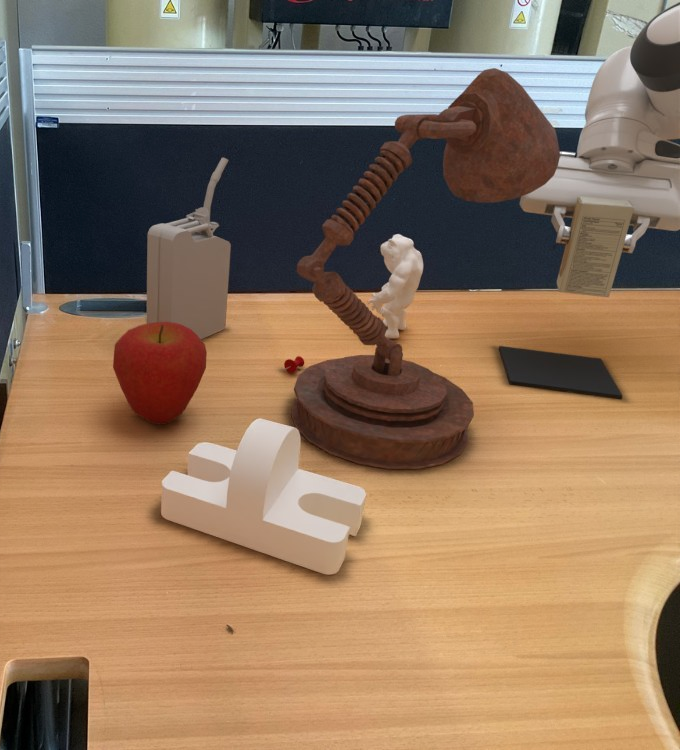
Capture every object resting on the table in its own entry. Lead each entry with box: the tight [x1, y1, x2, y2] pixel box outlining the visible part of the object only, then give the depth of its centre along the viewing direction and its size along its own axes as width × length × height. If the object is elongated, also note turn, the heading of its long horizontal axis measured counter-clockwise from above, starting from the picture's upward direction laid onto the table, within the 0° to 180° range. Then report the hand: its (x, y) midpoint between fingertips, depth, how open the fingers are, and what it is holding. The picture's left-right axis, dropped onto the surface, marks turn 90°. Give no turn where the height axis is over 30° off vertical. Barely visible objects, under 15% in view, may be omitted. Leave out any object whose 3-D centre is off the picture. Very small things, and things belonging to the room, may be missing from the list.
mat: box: [498, 345, 623, 400], centre depth 106 cm, size 14×12×1 cm
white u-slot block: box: [160, 417, 367, 576], centre depth 72 cm, size 10×18×10 cm, turn 63°
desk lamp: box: [290, 67, 560, 470], centre depth 84 cm, size 21×32×40 cm, turn 119°
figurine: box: [366, 233, 424, 339], centre depth 114 cm, size 11×7×15 cm, turn 150°
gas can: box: [145, 157, 232, 340], centre depth 109 cm, size 15×5×25 cm, turn 138°
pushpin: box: [283, 355, 305, 374], centre depth 103 cm, size 4×2×2 cm, turn 138°
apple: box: [112, 322, 208, 425], centre depth 89 cm, size 11×11×12 cm
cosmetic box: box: [556, 196, 634, 298], centre depth 100 cm, size 6×4×12 cm
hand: (594, 245), depth 99 cm, fingers closed on cosmetic box, 6 cm apart
